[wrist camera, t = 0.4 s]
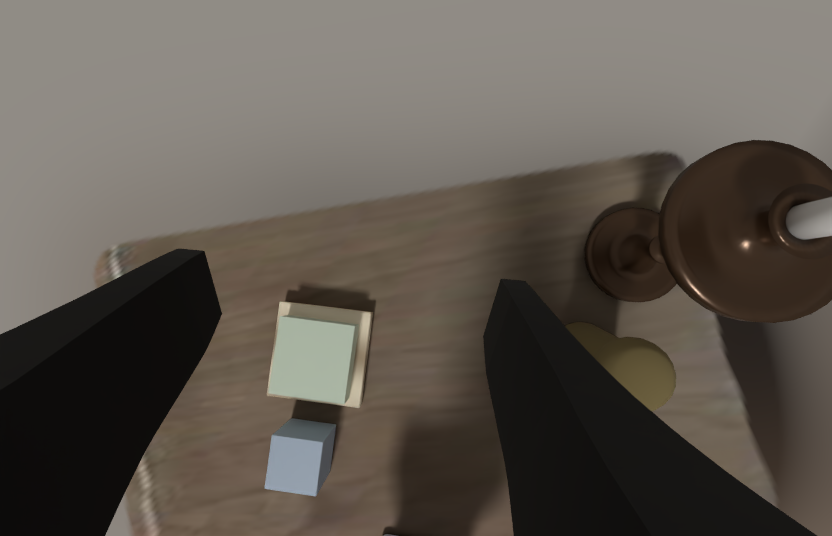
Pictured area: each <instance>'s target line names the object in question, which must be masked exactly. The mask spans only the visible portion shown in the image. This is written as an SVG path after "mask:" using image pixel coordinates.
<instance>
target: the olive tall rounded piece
mask: <svg viewBox="0 0 832 536" xmlns="http://www.w3.org/2000/svg"><path fill="white" fill-rule="evenodd" d="M565 327H566V328H567V329H568V330H569V331H570V332H571V334H572V335H573V336H574V337H575V338H576V339H577V340H578V341H579V342H580V343H581V344H582V345H583V347H584V348H585V349H586V350H587V351H588V352H589V353H590V354H591V355H592V356H593V357H594V358H595V359H596V360H597V361H598V362H599V363H600V364H601V365H602V366H603V367H604V368H605V369H606V370H607V371H608V372H609V373H610V374H611V375H612V376H613V377H614V378H615V379H616V380H617V381H618V382H619V383H620V384H621V385H622V386H624V387H625V388H626V389H627V390H628V391H629V392H630V393H631V394H632V395H633V396H634V397H635V398H637V399H638V400H639V401H640V402H641V403H642V404H644V405H645V406H646V407H647V408H648V409H649V410H650V411H654V410H656V409H658V408H659V407H661V406H663V405H664V404H665V403H666V402H667V401H668V400H669V399H670V398H671V396H672V394H673V392H674V389H675V387H676V374H675V370H674V366H673V363H672V362H671V360H670V358H669V357H668V355H667V354H666V353H665V352H664V351H663V350H661V349H660V348H659V347H658V346H657V345H655V344H654V343H651V342H649V341H647V340H644V339H641V338H633V337H624V338H618V337H616V336H614V335H612V334H610V333H608V332H606V331H604V330H603V329H601V328H599V327H597V326H594V325H592V324H590V323H585V322H575V323H571V324H568V325H566V326H565Z"/></svg>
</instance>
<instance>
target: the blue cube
mask: <svg viewBox="0 0 832 536" xmlns="http://www.w3.org/2000/svg"><path fill="white" fill-rule="evenodd" d="M335 430H336V424H330V423H323V422H315V421H308V420H301V419H294V418H291V419H290V420H289V421H288V422H286V423H285V424H284V425H283V426H282V427H281V428H280V429H278V430H277V431H276V432H275V433H274V434H273V435H272V439H271V446H270V454H269V461H268V468H267V475H266V482H265V489H270V490H277V491H283V492H290V493H297V494H304V495H310V496H316V495H317V494H318V492H319V490H320V488H321V487H322V485H323V483H324V481H325V480H326V478H327V476H328V474H329V473H330V469H331V461H332V453H333V445H334V438H335Z"/></svg>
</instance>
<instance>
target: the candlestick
mask: <svg viewBox="0 0 832 536" xmlns="http://www.w3.org/2000/svg"><path fill="white" fill-rule="evenodd" d="M585 263H586V267H587V270H588V272H589V275H590V277H591V278H592V280H593V281H594V283H595V284H596V285H597V286H598V287H599V288H600V289H601V290H602V291H603V292H605V293H606V294H608V295H609V296H611V297H614V298H616V299H619V300H623V301H628V302H645V301H651V300H654V299H657V298H660V297H661V296H663V295H665V294H666V293H668V292H669V291H670V290H671V289H672V288H673V287H674V286H675V285H676V284H678V285H679V286H680V287H681V288H682V289H683V290H684V292H685V293H686V294H687V295H688V296H689V297H690V298H692V299H693V300H694V301H696V302H697V303H699V304H700V305H702V306H703V307H704V308H706V309H708V310H710V311H712V312H715V313H717V314H719V315H721V316H725V317H728V318H732V319H737V320H742V321H753V322H770V323H776V322H783V321H791V320H795V319H798V318H801V317H803V316H806V315H809V314H811V313H813V312H815V311H817V310H818V309H820V308H822V307H823V306H825V305H827V304H828V303H829V302H830V301H831V300H832V170H831V169H830V168H829V167H828V166H827V165H826V164H825V163H823V162H822V161H821V160H819V159H817V158H816V157H814V156H813V155H811V154H810V153H808V152H806V151H804V150H801V149H799V148H797V147H794V146H792V145H789V144H784V143H779V142H775V141H761V140H751V141H746V142H738V143H734V144H731V145H728V146H725V147H722V148H720V149H717V150H716V151H713V152H711V153H709V154H708V155H706V156H704V157H702V158H700V159H699V160H697V161H696V162H694V163H692V164H691V165H690V166H688V167H687V168H686V169H685V170H684V171H683V172H682V173H681V174H680V175H679V176H678V177H677V178H676V180H675V181H674V182H673V184H672V185H671V187H670V188H669V190H668V192H667V194H666V196H665V199H664V201H663V203H662V207H661V211H660V214H659V213H656V212H654V211H652V210H648V209H644V208H627V209H622V210H619V211H617V212H614V213H612V214H610V215H608V216H606V217H605V218H603V219H602V220H601V221H599V222H598V223H597V224H596V225H595V227H594V228H593V229H592V231H591V232H590V234H589V236H588V239H587V241H586V246H585Z"/></svg>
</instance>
